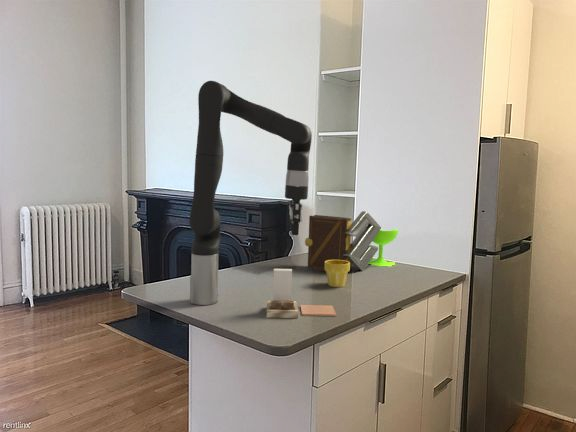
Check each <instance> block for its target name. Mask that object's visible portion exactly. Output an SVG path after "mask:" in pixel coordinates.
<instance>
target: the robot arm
mask: <svg viewBox="0 0 576 432" xmlns="http://www.w3.org/2000/svg"><path fill="white" fill-rule="evenodd" d="M197 96H198V99H197V100H198V102H197V103H198V128H197V135H196V136H197V139H196V150H195V160H194V161H195V162H194V177H193V178H194V179H193V196H192V202H191V208H190V213H189V220H188V222H189V223H188V224H189V227H190V230H191V231H192V232H193V233H194V239H193V242H192V245H191V265H190V268H191V271H190V273H191V274H190V276H189V304H193V305H198V306H199V305H200V306H202V305H203V306H206V305H207V306H208V305H214V304H216V303H218V301H219V300H218V299H219V294H218V293H219V250H220V249H219V248H220V244H221V232H222V231H221V228H222V227H221V225H222V223H221V222H222V220H221V216H220V212H218V210H216V209H215V198H216V193H217V189H218V186H219V182H220V180H221V175H222V171H223V166H224V164H223V163H224V145H223V138H222V133H221V116H222V113H225V114H228V115H232V116H234V117H238V118H239V119H242V120H244V121H245V122H248V123H249V124H251V125H253V126H255V127H257V128H259V129H260V130H262V131H266V132H268V133H270V134H272V135H275V136H279V138H282V139H284V140H286V141H288V142H289V143H290V152H289V154H288V156H287V161H286V162H287V166H286V167H287V168H286V174H285V187H284V198H285V199H289V200H290V203H289V206H288V209H289V213H288V214H289V220H290V223H289V224H290V225H289V226H290V227H289V228H290V229H289V230H290V232H291V235H292V236H299V231H300V230H299V229H300V223H301V217H302V210H303V205H302V204H301V201H302V200H308V197H309V195H308V194H309V193H308V192H309V179H310V178H309V166H310V165H309V163H310V158H309V157H310V152H311V148H312V147H311V146H312V138H313V134H312V130H311V128H310V127H309V126H308V125H307V124H304V123H303V122H301V121H297V120H295V119H293V118H289V117H287V116H285V115H283V114H281V112H278V111H275V110H272V109H270V108H268V107H265V106H264V105H260V104H258V103H257V104H256V103H254V102H251V101H250V100H247V99H244V98H242V97H241V96H239V95H237V94H236V93H235V92H233V91H232V90H230V89H228V88H227V86H225V85H224V84H223V83H219V82H218V81H215V80H208V81H205V82H203V84H202V85H201V86H200V88H199V91H198V95H197Z"/></svg>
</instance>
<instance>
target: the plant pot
mask: <svg viewBox="0 0 576 432" xmlns="http://www.w3.org/2000/svg"><path fill="white" fill-rule="evenodd" d="M325 270H326V271H325V272H326V277H327V282H328V286H329V287H332V288H343V286H344V287H345V286H346V284H347V283H346V282H347V278H348V271H349V272H350V270H351V263H350V262H348V261H345V260H327V261H325Z"/></svg>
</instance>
